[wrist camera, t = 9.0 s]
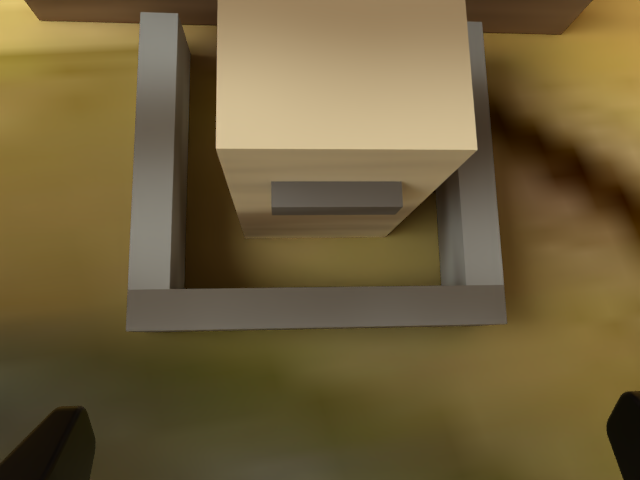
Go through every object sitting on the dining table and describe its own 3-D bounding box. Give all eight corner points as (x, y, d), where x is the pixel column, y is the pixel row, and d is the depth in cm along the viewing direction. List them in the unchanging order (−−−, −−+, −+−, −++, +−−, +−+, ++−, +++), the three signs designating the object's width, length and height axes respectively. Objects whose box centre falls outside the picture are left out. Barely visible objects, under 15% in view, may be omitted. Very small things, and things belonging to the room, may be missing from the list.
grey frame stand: (593, 323, 19) (928, 307, 9) (13, 334, 17) (-328, 330, 8) (557, 7, 21) (796, -275, 12) (41, -10, 20) (-192, -353, 10)
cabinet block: (385, 253, 19) (480, 179, 10) (244, 255, 19) (215, 179, 10) (378, 107, 20) (458, -77, 11) (245, 105, 20) (218, -86, 11)
